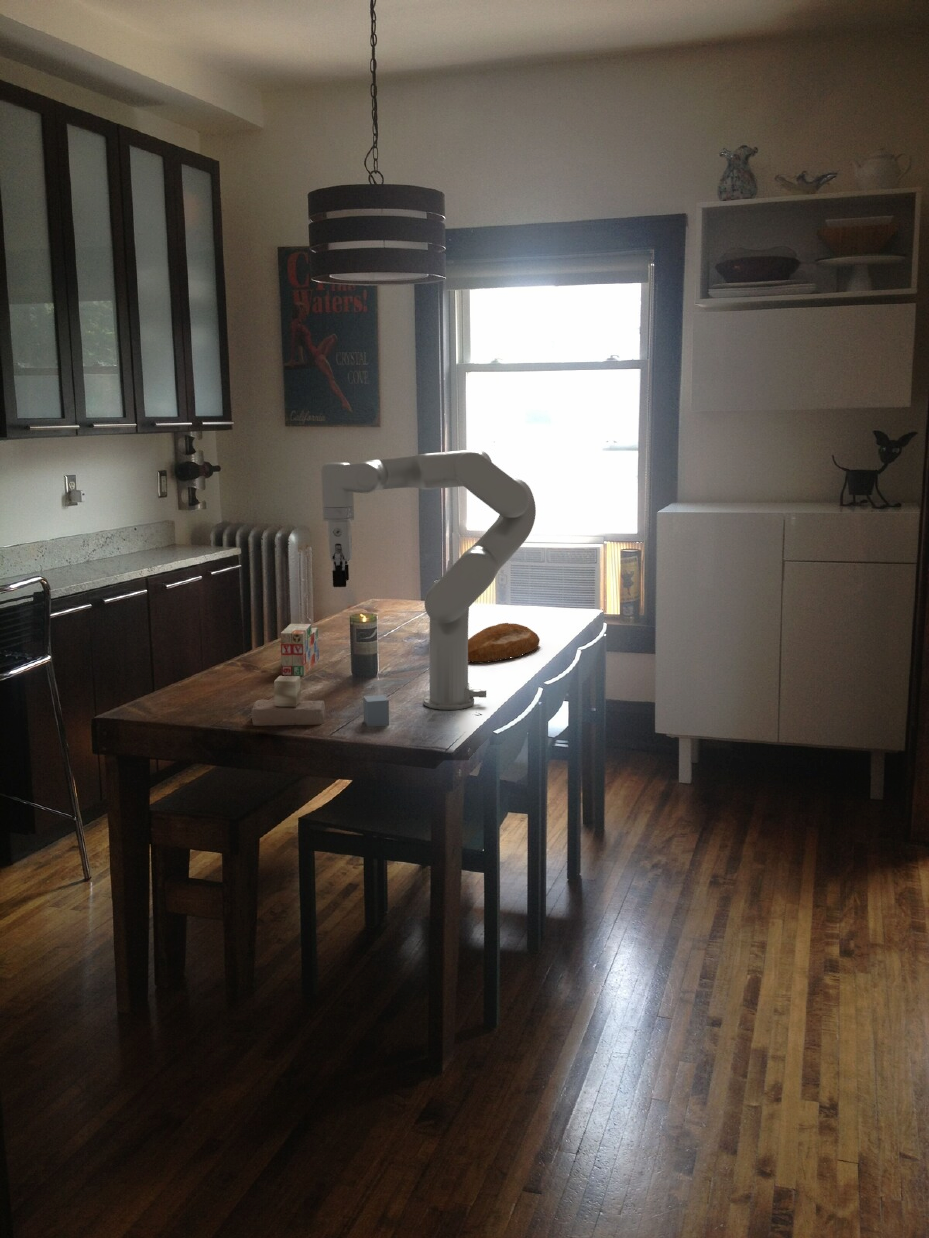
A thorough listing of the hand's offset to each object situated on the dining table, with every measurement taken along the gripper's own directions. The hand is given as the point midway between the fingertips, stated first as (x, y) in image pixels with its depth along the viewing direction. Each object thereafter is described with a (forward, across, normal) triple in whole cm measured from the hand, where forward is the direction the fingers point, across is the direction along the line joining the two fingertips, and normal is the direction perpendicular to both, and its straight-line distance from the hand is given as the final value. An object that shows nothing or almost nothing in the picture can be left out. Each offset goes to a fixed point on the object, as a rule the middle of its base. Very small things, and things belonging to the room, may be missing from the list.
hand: (341, 583), depth 270 cm
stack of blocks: (+30, +37, +15) cm, 50 cm away
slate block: (+30, -19, -8) cm, 37 cm away
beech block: (+26, -16, +12) cm, 33 cm away
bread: (+31, +52, -42) cm, 74 cm away
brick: (+30, -16, +12) cm, 36 cm away
